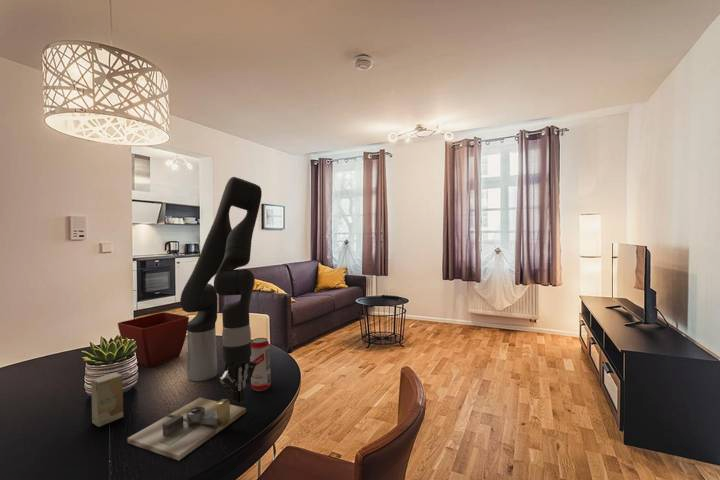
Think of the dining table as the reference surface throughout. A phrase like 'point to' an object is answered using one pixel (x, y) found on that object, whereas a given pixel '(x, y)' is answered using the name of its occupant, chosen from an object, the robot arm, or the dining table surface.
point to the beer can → (260, 364)
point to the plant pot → (156, 336)
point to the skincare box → (107, 399)
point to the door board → (181, 431)
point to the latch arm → (210, 415)
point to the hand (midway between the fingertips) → (239, 402)
